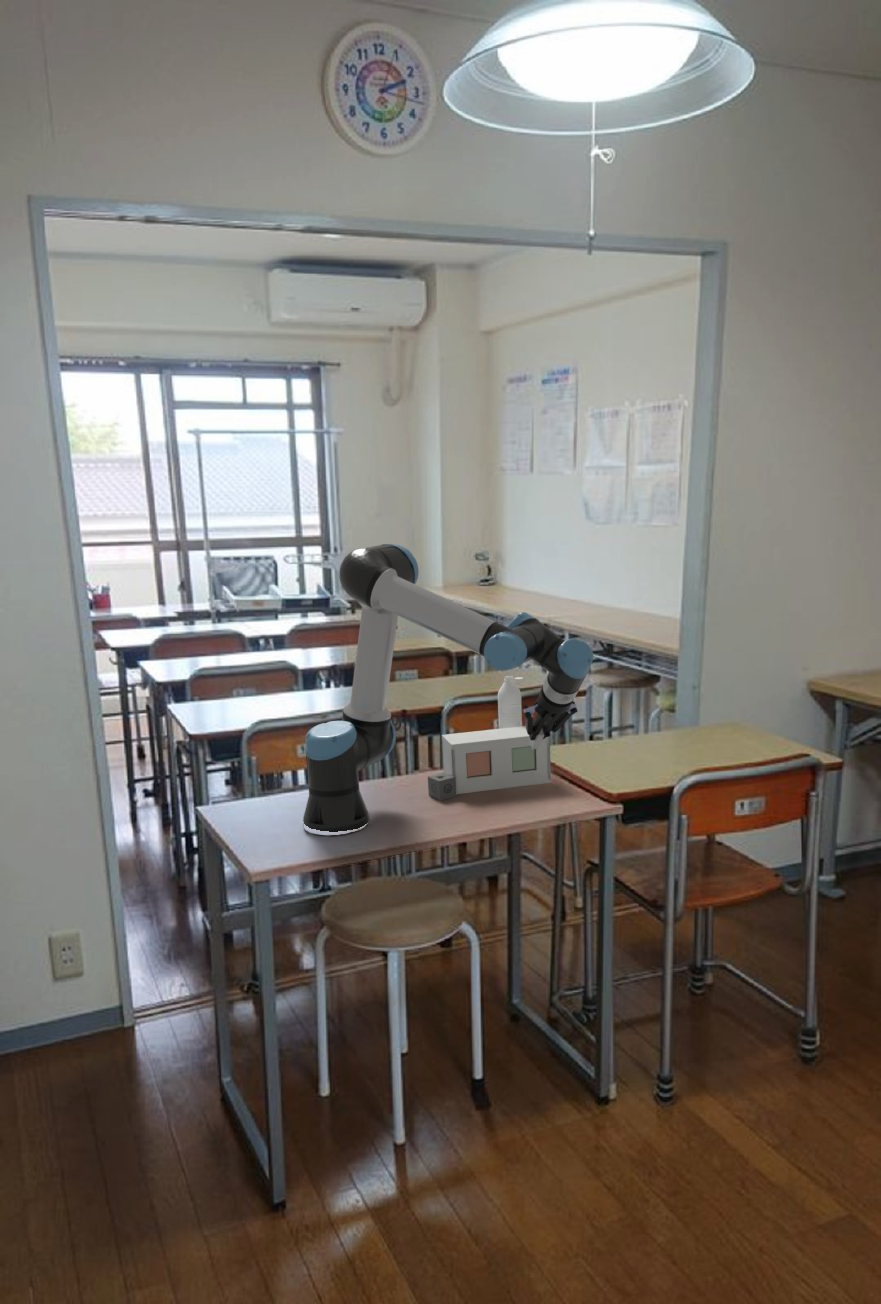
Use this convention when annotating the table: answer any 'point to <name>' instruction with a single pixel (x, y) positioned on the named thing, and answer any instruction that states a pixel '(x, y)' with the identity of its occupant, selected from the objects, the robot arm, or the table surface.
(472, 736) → the box
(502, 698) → the water bottle
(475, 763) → the terracotta button
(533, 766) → the sage button
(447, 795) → the dice cube
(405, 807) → the table surface
